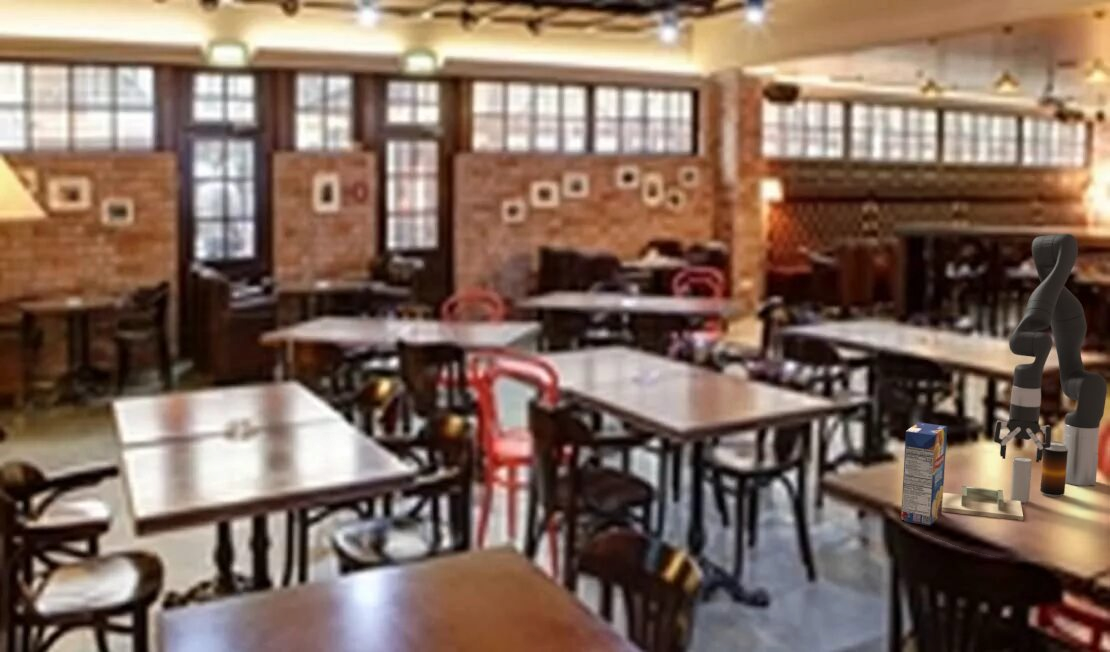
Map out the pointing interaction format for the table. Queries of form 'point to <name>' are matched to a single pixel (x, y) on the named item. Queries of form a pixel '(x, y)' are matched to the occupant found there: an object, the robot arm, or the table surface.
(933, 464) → the juice carton
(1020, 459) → the white cylinder
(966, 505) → the rest
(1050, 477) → the beverage can
